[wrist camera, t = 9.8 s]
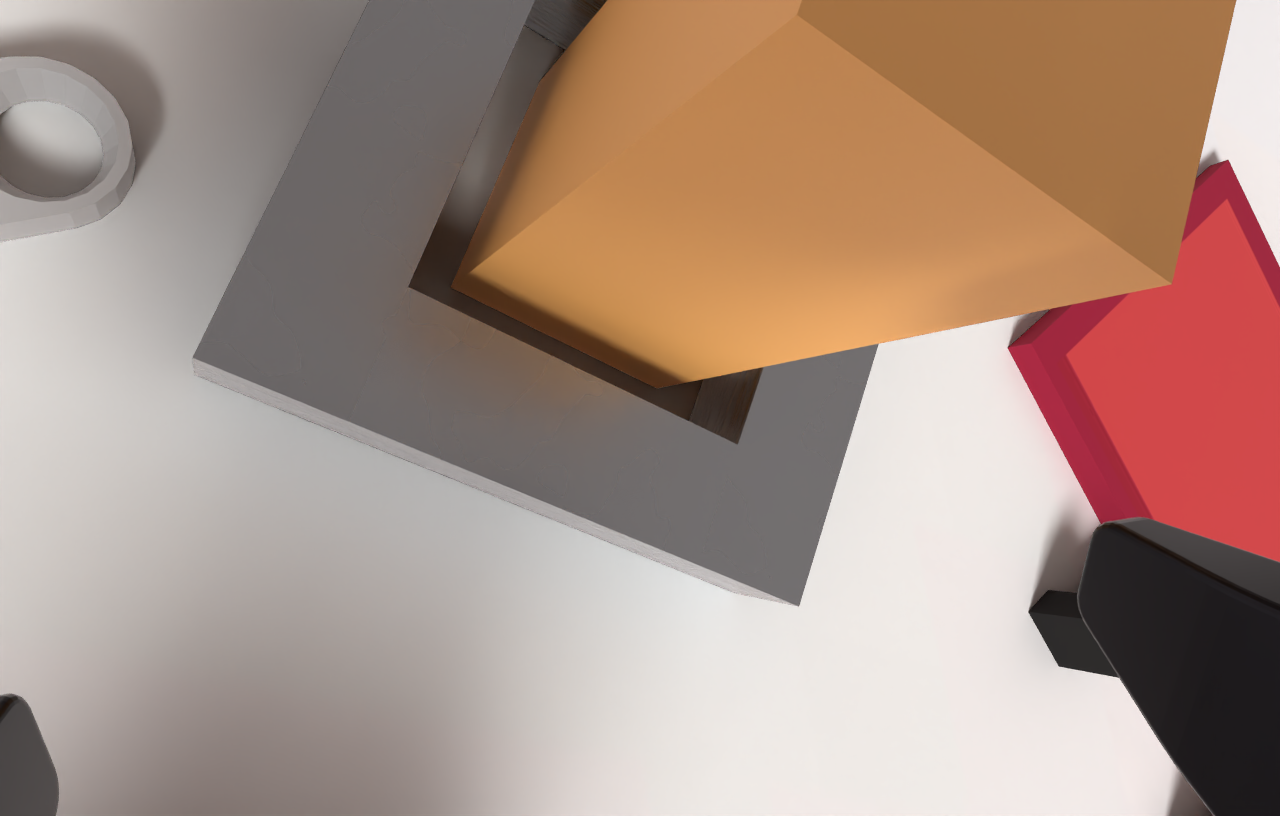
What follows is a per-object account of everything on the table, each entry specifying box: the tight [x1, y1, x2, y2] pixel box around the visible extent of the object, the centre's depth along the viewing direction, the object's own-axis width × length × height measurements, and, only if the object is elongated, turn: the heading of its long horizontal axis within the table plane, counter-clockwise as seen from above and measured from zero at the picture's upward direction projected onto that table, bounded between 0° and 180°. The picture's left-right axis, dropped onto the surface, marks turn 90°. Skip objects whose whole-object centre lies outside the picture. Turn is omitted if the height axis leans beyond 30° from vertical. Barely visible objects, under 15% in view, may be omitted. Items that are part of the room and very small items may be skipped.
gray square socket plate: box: [193, 0, 878, 606], centre depth 19 cm, size 12×12×2 cm
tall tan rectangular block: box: [450, 0, 1236, 388], centre depth 15 cm, size 5×5×12 cm
